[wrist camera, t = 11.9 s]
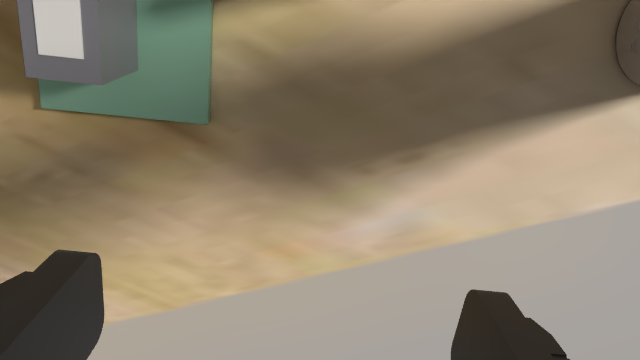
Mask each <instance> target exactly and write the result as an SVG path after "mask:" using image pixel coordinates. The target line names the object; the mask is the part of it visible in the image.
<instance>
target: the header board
mask: <svg viewBox="0 0 640 360" xmlns="http://www.w3.org/2000/svg"><path fill="white" fill-rule="evenodd" d="M136 7H137V45H138V71H135V72H133V73H130V74H128V75H126V76H123V77H121V78H119V79H116V80H114V81H111V82H109V83H107V84H104V85H93V84H84V83H74V82H65V81H56V80H47V79H38V85H39V94H40V103H41V108H46V109H56V110H66V111H76V112H86V113H96V114H106V115H116V116H126V117H136V118H146V119H156V120H166V121H176V122H186V123H196V124H206V125H207V124H208V123H209V121H210V95H211V62H212V28H213V0H136Z"/></svg>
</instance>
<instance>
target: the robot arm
mask: <svg viewBox="0 0 640 360" xmlns="http://www.w3.org/2000/svg"><path fill="white" fill-rule="evenodd" d="M616 51H617V57H618V61H619V63H620V66H621V68H622V70H623V71H624V73H625V74H626V75H627V76H628V78H629V79H631V80H632V81H634V82H635V83H636V84H638V85H640V0H631V1H630V3H629V4H628V6H627V7H626V9H625V11H624V13H623V16H622V18H621V20H620V23H619V27H618V31H617V37H616ZM103 322H104V301H103V285H102V269H101V260H100V257H99V255H98V254H97V253H88V252H78V251H67V250H57V251H55V252H54V253H53V254H51V255H50V256H49V257H48V258H47V259H46V260H45V261H44V262H43V263H42V264H41V265H40V266H39V267H38V268H37V269H36V270H35V271H34V272H27V271H25V272H23V273H21V274H19V275H17V276H15V277H13V278H11V279H9V280H7V281H5V282H3V283H1V284H0V360H86V359H87V358H88V356H89V355H90V353H91V352H92V350H93V349H94V347H95V345H96V344H97V342H98V339H99V337H100V334H101V331H102V328H103ZM451 360H570V359H567V358H566V354H565V352H564V351H563V350H562V348H561V347H560V345H559V344H558V343H557V341H556V340H555V339H554V338H553V336H552V335H551V334H550V333H548V332H547V331H546V330H545V329H543V328H542V327H541V326H540V325H538V324H537V323H536V322H535V321H534V320H532V319H531V318H525V317H524V315H523V314H522V313H521V311H520V310H519V308H518V307H517V305H516V304H515V303H514V301H513V300H512V298H511V297H510V296H509V295H508V294H507V293H504V292H493V291H483V290H470V291H469V292H468V294H467V296H466V298H465V301H464V305H463V308H462V312H461V315H460V319H459V322H458V326H457V329H456V332H455V336H454V340H453V343H452V348H451Z"/></svg>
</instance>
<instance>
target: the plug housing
mask: <svg viewBox="0 0 640 360" xmlns="http://www.w3.org/2000/svg"><path fill="white" fill-rule="evenodd" d="M17 6H18V15H19V23H20V32H21V40H22V49H23V57H24V66H25V74H26V77H28V78H38V79H47V80H56V81H65V82H74V83H84V84H93V85H104V84H107V83H109V82H111V81H114V80H116V79H119V78H121V77H123V76H126V75H128V74H130V73H133V72H135V71H138V45H137V7H136V0H17Z"/></svg>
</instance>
